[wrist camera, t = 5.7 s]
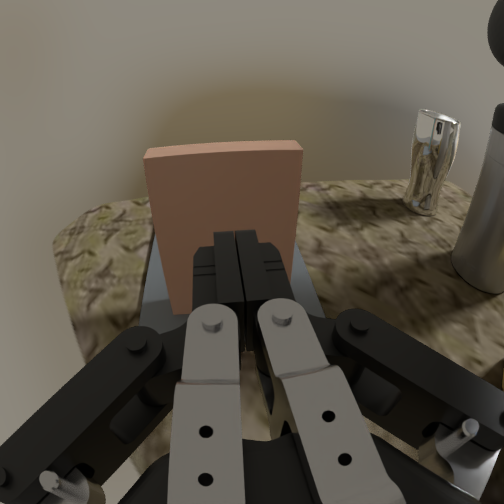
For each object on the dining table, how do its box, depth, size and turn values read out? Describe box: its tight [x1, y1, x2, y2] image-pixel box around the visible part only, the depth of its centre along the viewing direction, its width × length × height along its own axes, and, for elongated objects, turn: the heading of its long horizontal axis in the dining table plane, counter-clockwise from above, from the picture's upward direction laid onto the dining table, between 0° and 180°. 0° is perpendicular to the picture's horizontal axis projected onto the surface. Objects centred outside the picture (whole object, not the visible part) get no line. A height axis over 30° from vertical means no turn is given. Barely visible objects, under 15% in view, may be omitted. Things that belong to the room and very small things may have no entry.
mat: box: [139, 234, 326, 334], centre depth 33 cm, size 16×20×1 cm
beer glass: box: [402, 109, 461, 216], centre depth 40 cm, size 7×7×15 cm
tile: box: [143, 140, 303, 315], centre depth 24 cm, size 10×2×14 cm, turn 97°
